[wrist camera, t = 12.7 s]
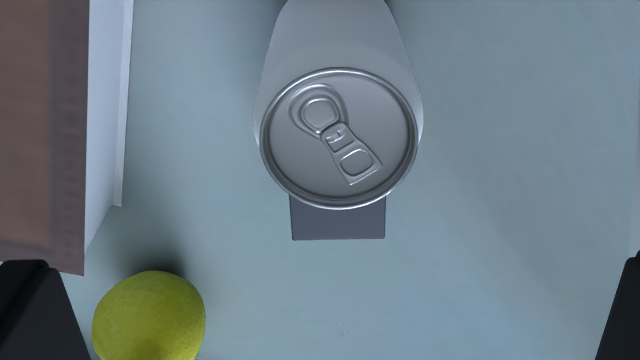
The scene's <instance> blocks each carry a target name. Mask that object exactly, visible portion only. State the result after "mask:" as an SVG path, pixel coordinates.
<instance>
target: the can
mask: <svg viewBox="0 0 640 360" xmlns="http://www.w3.org/2000/svg"><path fill="white" fill-rule="evenodd" d="M253 127H254V134H255V138H256V141H257V144H258V147H259V149H260V152H261V156H262V159H263V162H264V164H265V167H266V169H267V171H268V172H269V174H270V175H271V177H272V178H273V180H274V181H275V182H276V183H277V184H278V185H279V186H280V187H281V188H282V189H283V190H284V191H285V192H287V193H288V194H289V195H291V196H293V197H294V198H296V199H298V200H300V201H302V202H304V203H306V204H309V205H312V206H316V207H320V208H326V209H350V208H356V207H360V206H364V205H367V204H370V203H372V202H374V201H377V200H379V199H380V198H382V197H384V196H385V195H387V194H388V193H390V192H391V191H392V190H393V189H395V188H396V187H397V186H398V185H399V184H400V183H401V181H402V180H403V179H404V178H405V176H406V175H407V174H408V172H409V170H410V169H411V167H412V165H413V162H414V160H415V157H416V153H417V148H418V144H419V141H420V138H421V134H422V129H423V106H422V100H421V96H420V92H419V89H418V86H417V83H416V80H415V77H414V74H413V71H412V68H411V65H410V62H409V59H408V56H407V53H406V50H405V47H404V45H403V42H402V39H401V36H400V33H399V31H398V28H397V25H396V22H395V20H394V17H393V15H392V13H391V11H390V9H389V7H388V6H387V4H386V3H385V1H384V0H288V1H287V2H286V4H285V5H284V6H283V8H282V10H281V11H280V13H279V15H278V18H277V20H276V23H275V27H274V30H273V33H272V37H271V40H270V44H269V48H268V51H267V55H266V59H265V62H264V66H263V70H262V74H261V78H260V81H259V85H258V89H257V93H256V98H255V103H254V110H253Z"/></svg>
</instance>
